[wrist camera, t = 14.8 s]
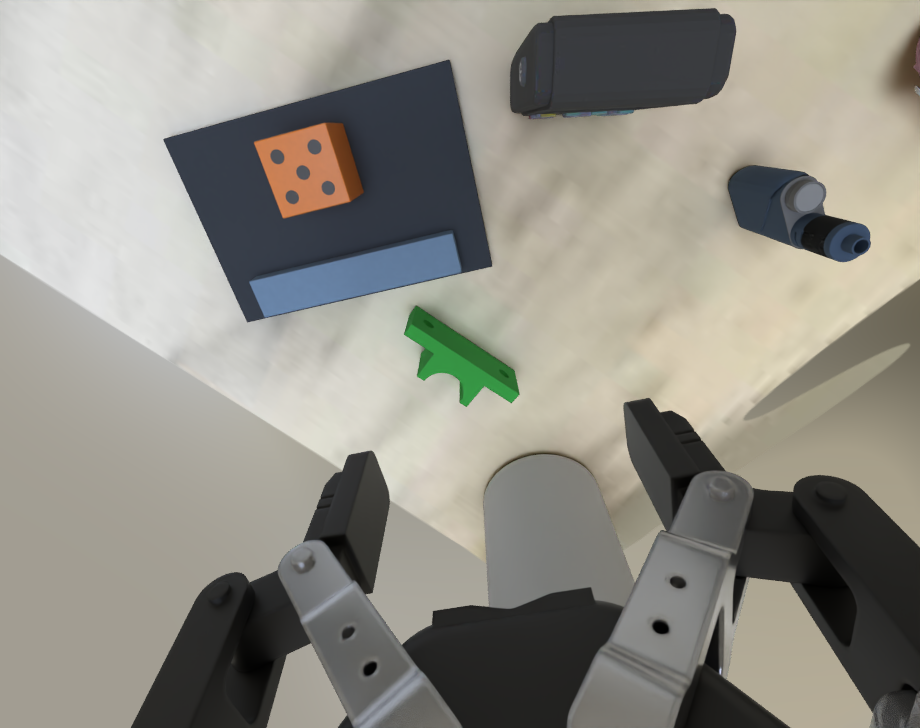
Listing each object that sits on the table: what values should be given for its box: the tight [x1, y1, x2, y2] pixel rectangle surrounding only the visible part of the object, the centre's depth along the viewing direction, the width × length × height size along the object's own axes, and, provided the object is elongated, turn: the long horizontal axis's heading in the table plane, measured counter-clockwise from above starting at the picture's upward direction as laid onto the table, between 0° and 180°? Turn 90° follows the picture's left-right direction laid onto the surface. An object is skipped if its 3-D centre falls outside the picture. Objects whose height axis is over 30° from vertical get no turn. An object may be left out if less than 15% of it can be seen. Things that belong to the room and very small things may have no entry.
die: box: [254, 123, 364, 218], centre depth 34 cm, size 5×5×5 cm
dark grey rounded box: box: [510, 8, 736, 119], centre depth 28 cm, size 9×4×15 cm, turn 92°
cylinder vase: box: [483, 454, 635, 609], centre depth 41 cm, size 12×12×25 cm
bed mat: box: [163, 60, 492, 322], centre depth 38 cm, size 15×22×3 cm
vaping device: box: [728, 165, 871, 262], centre depth 33 cm, size 3×5×12 cm, turn 29°
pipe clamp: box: [404, 306, 519, 407], centre depth 43 cm, size 11×4×5 cm, turn 54°
